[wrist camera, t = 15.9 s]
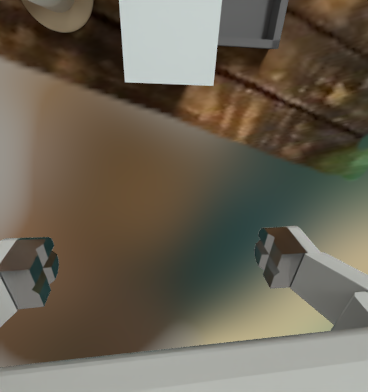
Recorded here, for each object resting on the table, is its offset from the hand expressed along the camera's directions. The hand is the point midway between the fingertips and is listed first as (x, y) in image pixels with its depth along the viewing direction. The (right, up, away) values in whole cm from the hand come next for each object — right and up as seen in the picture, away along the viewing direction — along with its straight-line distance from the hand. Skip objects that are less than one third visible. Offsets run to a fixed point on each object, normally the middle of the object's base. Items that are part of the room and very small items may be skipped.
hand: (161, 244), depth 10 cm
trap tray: (+9, +29, +24) cm, 39 cm away
